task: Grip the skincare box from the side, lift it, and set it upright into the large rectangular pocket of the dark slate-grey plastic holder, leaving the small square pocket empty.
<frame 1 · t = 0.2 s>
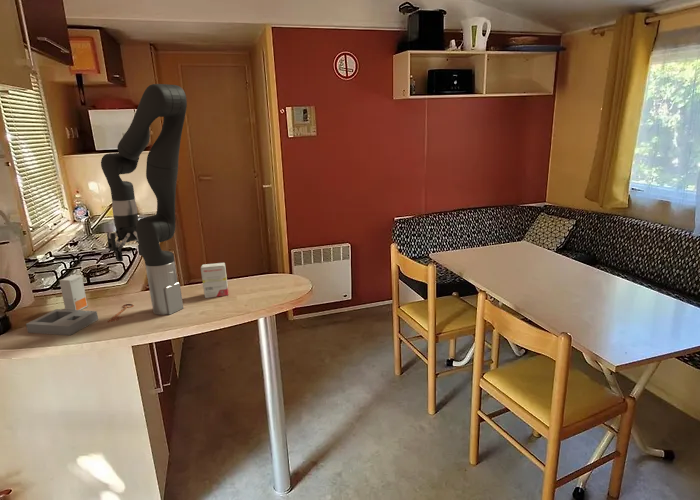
hand: (131, 258, 162), 18 cm above the table, tool pointing down, fingers open, 8 cm apart
ink box: (217, 295, 174), on the table
holder: (64, 325, 151), on the table
key: (122, 314, 160), on the table
skincare box: (77, 309, 165), on the table
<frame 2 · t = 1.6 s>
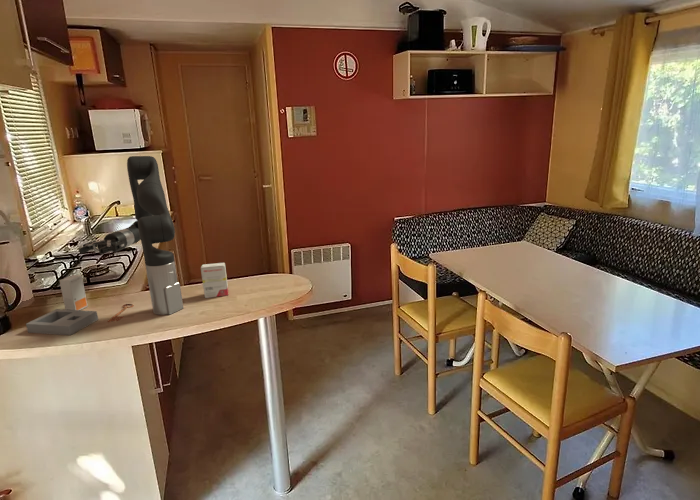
hand: (90, 251, 171), 18 cm above the table, tool horizontal, fingers open, 8 cm apart
nothing on the table moved.
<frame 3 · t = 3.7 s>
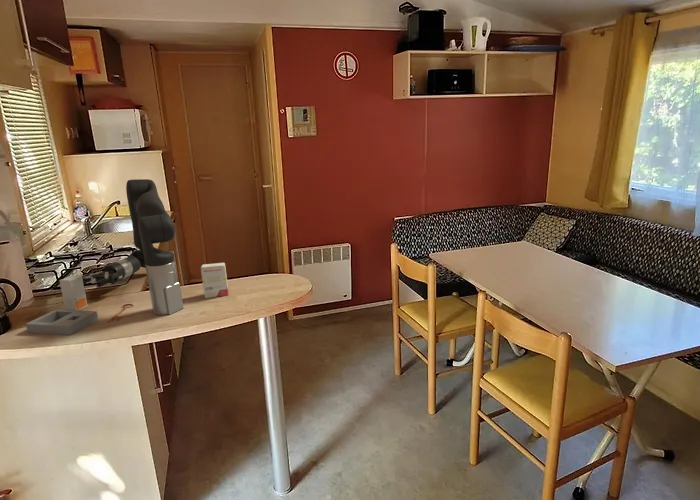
hand: (87, 284, 170), 7 cm above the table, tool horizontal, fingers open, 8 cm apart
nothing on the table moved.
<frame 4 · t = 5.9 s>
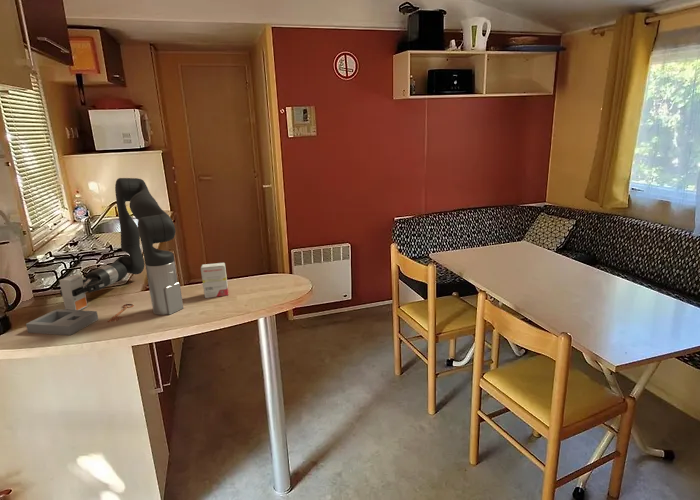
hand: (67, 293, 161), 7 cm above the table, tool horizontal, fingers closed on skincare box, 4 cm apart
skincare box: (77, 309, 165), on the table, touching gripper
everything else where it was.
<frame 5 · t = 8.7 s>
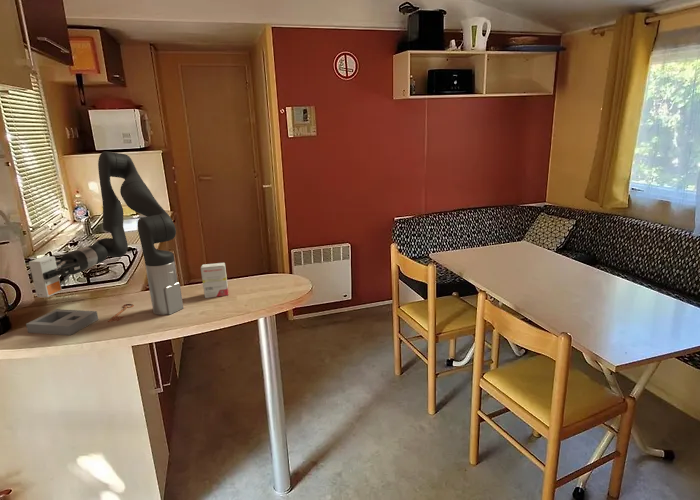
hand: (38, 276, 145), 18 cm above the table, tool horizontal, fingers closed on skincare box, 4 cm apart
skincare box: (50, 294, 150), point 11 cm above the table, touching gripper
everything else where it was.
when the fingers open (8 cm above the table, at t = 11.8 s): skincare box drops 1 cm, resting in holder.
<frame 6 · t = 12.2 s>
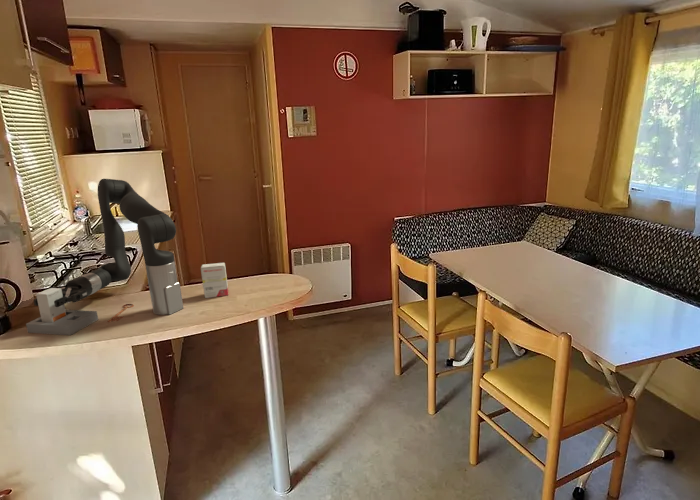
hand: (45, 303, 148), 9 cm above the table, tool horizontal, fingers open, 7 cm apart
skincare box: (56, 325, 152), resting in holder
everything else where it was.
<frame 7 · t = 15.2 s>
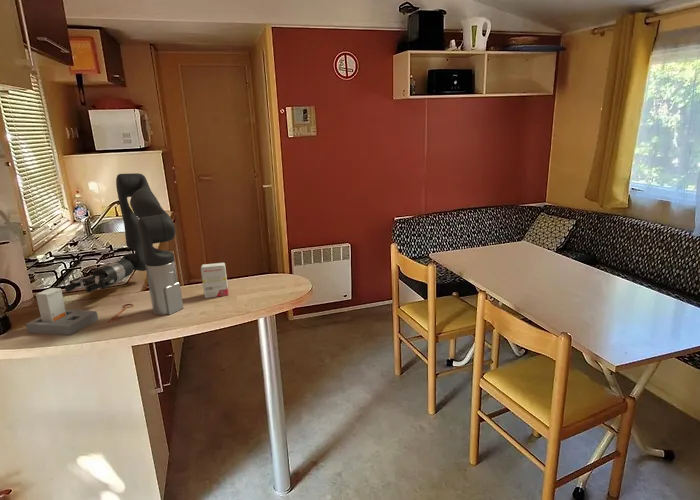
hand: (76, 289, 160), 8 cm above the table, tool horizontal, fingers open, 8 cm apart
nothing on the table moved.
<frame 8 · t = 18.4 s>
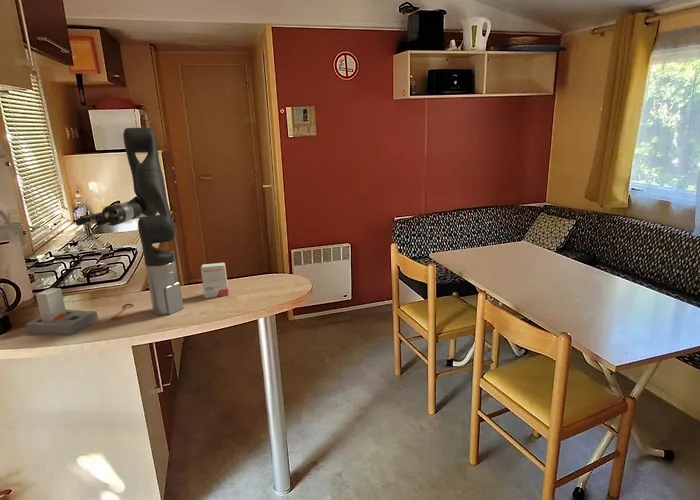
hand: (87, 222, 163), 30 cm above the table, tool horizontal, fingers open, 8 cm apart
nothing on the table moved.
at the end: skincare box 0.2 cm from the target spot on the holder, point 0.0 cm above the holder's base; skincare box tilted 0°; the gripper is holding nothing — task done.
